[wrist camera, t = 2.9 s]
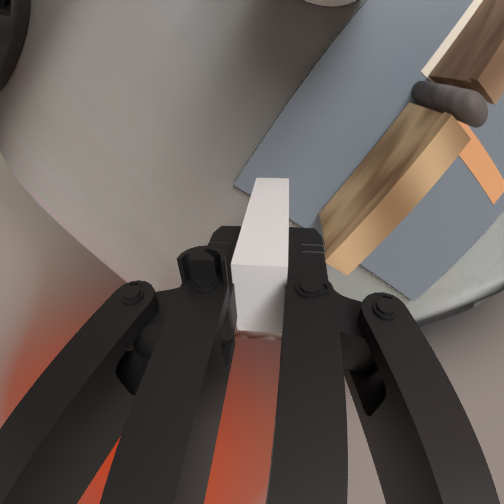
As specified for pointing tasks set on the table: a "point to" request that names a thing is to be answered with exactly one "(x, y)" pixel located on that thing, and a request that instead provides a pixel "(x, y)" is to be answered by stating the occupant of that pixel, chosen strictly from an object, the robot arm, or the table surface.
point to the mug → (330, 2)
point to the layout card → (374, 127)
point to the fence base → (469, 69)
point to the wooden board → (389, 184)
